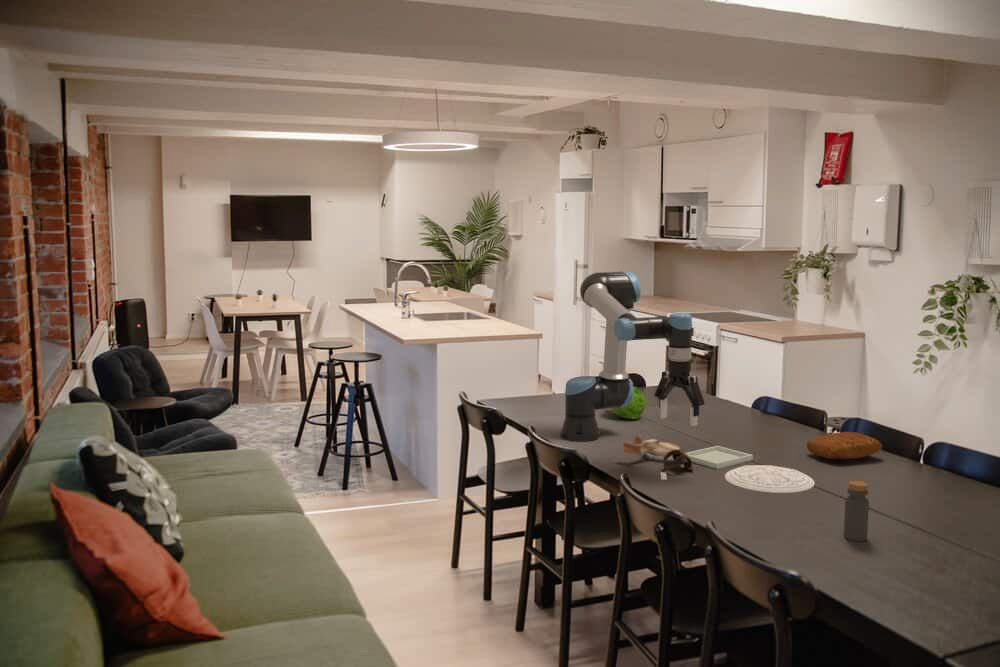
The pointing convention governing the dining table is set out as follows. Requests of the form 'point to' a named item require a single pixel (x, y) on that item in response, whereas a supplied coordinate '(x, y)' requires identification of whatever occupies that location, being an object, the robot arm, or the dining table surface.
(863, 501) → the bottle
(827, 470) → the dining table surface
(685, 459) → the pottery mug
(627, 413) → the lettuce
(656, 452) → the crank
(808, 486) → the ceiling medallion
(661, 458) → the crank housing
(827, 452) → the bread loaf
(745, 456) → the tray
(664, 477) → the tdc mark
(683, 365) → the robot arm
